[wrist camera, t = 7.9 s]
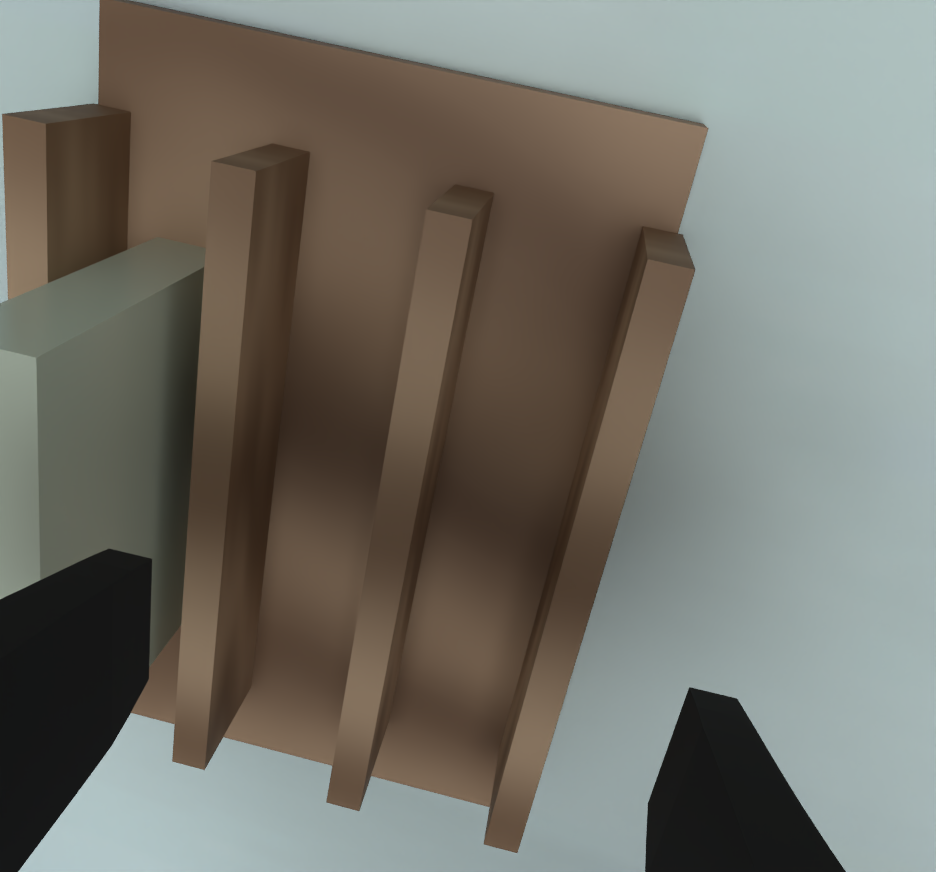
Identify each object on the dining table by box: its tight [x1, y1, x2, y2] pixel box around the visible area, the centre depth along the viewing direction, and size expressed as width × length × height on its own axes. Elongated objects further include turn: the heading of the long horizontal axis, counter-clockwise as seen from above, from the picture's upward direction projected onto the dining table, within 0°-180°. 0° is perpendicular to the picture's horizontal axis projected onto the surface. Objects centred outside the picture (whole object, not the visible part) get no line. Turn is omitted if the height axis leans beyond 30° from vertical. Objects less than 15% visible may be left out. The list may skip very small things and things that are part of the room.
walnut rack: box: [2, 0, 708, 853], centre depth 20 cm, size 18×12×4 cm
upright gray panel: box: [0, 237, 206, 667], centre depth 18 cm, size 9×2×7 cm, turn 169°
